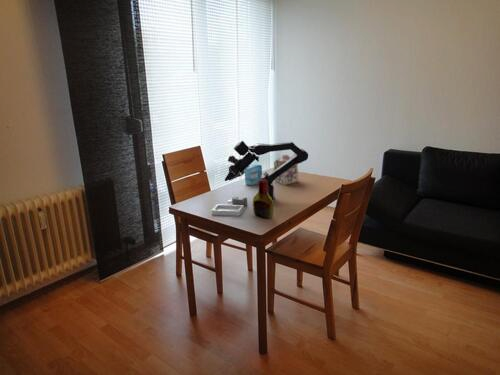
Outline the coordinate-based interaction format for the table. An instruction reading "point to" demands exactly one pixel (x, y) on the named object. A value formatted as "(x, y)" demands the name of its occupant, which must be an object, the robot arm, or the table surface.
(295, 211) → the table surface
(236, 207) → the dock tray
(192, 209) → the table surface
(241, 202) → the plug
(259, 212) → the bottle
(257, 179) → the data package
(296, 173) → the decorative jar
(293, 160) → the robot arm
